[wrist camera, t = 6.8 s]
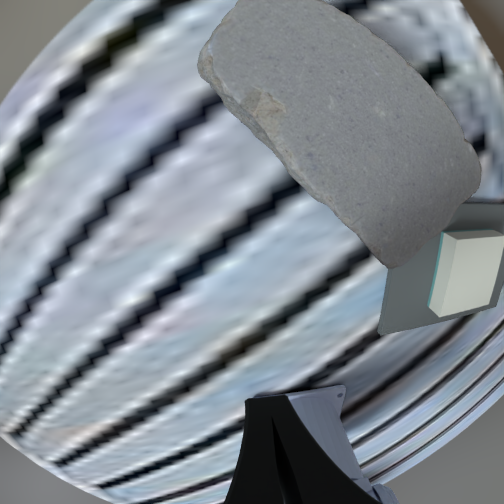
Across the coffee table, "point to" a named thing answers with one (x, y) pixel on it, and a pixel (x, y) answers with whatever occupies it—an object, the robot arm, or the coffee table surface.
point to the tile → (465, 270)
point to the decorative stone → (344, 119)
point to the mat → (422, 272)
